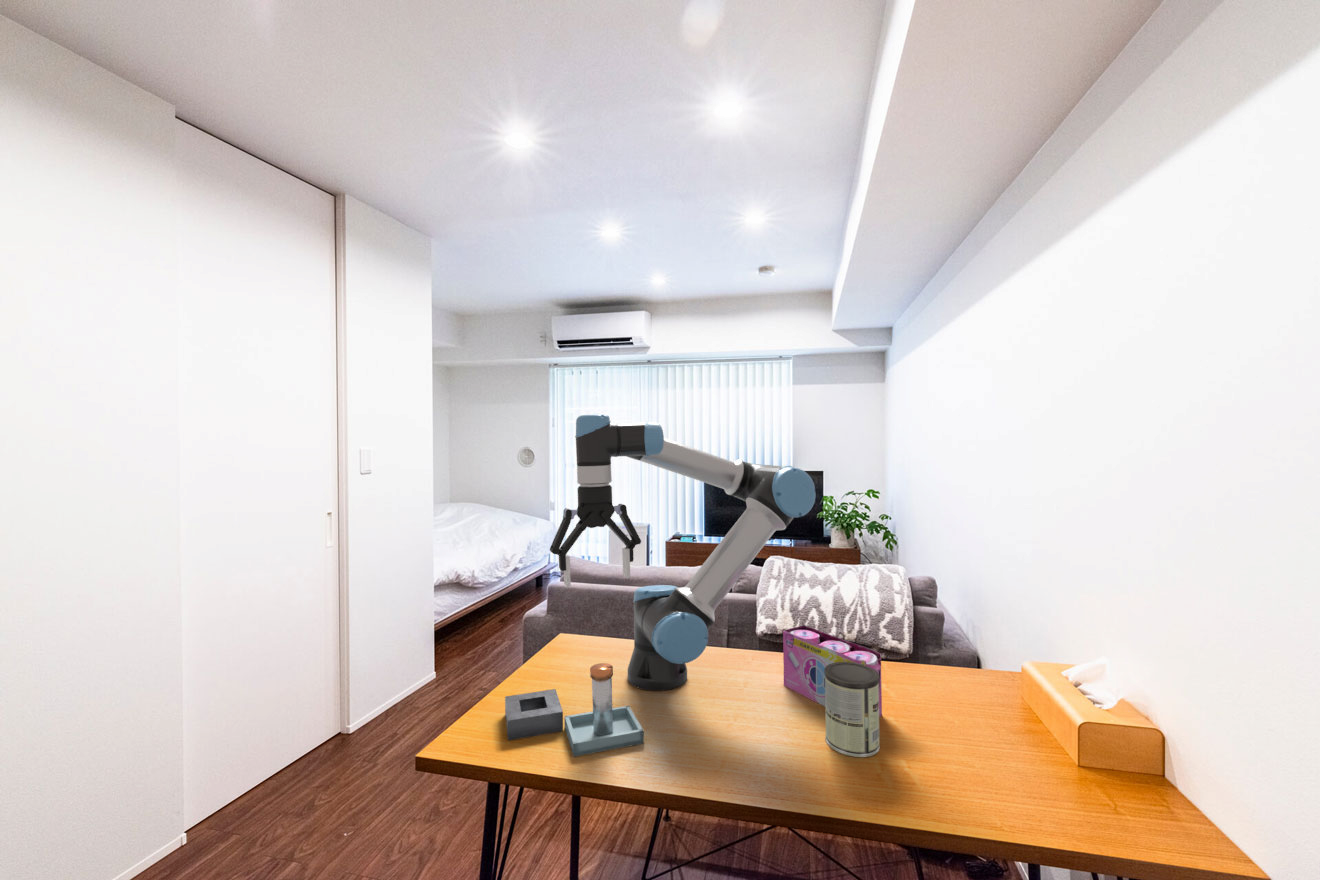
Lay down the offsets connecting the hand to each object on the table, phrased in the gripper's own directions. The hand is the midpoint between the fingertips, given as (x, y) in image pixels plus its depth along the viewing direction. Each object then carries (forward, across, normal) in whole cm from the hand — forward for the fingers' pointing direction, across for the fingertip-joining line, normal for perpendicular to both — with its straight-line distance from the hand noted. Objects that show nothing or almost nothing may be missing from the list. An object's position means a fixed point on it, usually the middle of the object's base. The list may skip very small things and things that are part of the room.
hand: (597, 581), depth 120 cm
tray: (+29, +3, +9) cm, 31 cm away
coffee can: (+31, -42, +32) cm, 61 cm away
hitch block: (+29, +15, -2) cm, 32 cm away
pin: (+28, +2, +9) cm, 30 cm away
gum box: (+31, -50, +16) cm, 61 cm away
